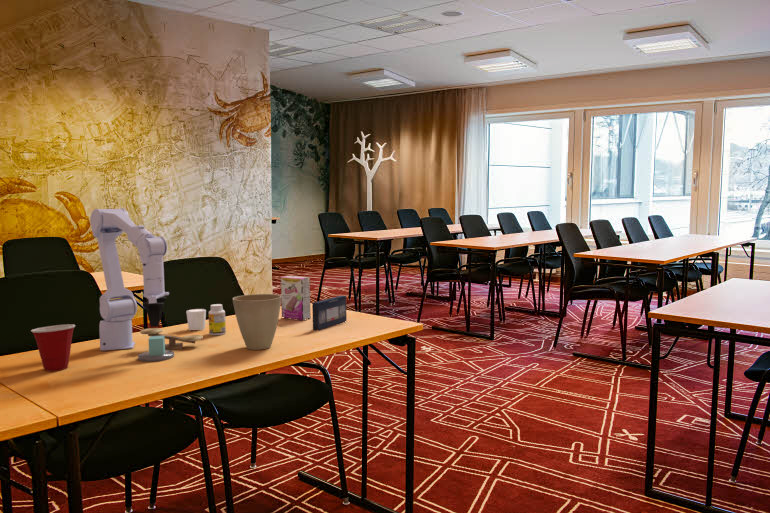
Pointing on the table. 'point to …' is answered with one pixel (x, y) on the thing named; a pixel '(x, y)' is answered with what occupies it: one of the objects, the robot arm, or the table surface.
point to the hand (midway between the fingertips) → (155, 324)
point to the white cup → (196, 319)
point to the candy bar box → (295, 297)
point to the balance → (172, 338)
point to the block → (156, 345)
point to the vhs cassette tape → (329, 312)
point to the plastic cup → (54, 345)
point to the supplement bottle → (217, 320)
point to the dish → (147, 358)
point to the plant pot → (257, 318)
